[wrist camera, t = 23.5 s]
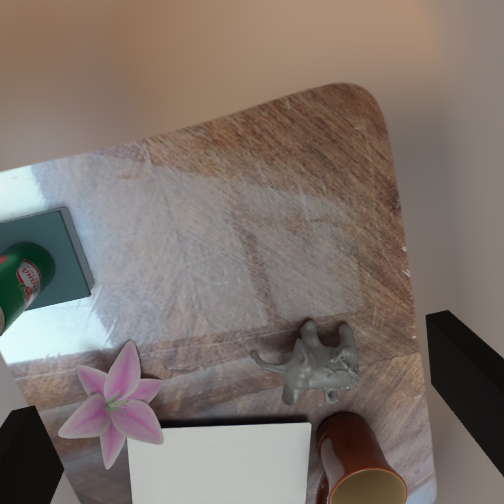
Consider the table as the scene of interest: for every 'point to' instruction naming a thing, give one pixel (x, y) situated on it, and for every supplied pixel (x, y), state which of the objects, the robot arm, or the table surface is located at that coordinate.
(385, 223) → the table surface
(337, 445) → the mug
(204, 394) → the table surface
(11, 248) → the soda can
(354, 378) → the elephant statuette
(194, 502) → the plate
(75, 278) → the square coaster
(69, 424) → the lily
